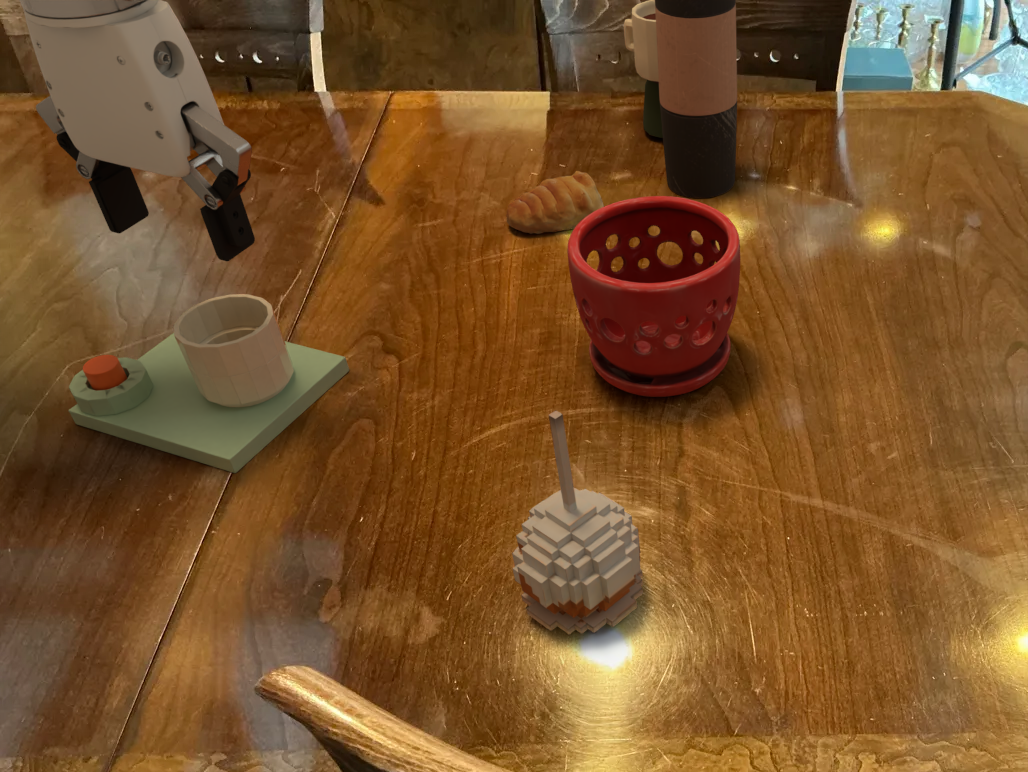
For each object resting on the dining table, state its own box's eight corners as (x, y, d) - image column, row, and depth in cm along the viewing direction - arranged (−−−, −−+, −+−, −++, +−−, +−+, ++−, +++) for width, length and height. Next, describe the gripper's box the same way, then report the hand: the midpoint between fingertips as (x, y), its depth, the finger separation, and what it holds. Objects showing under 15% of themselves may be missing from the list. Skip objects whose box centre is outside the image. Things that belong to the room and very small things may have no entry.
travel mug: (706, 158, 116) (700, -44, 102) (752, 183, 112) (753, -24, 97) (649, 180, 112) (635, -26, 98) (695, 207, 108) (687, -5, 94)
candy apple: (586, 535, 75) (559, 357, 64) (667, 588, 71) (653, 409, 61) (500, 599, 71) (457, 419, 60) (582, 658, 67) (550, 479, 57)
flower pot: (551, 362, 90) (531, 231, 81) (675, 305, 96) (668, 177, 87) (646, 437, 82) (635, 303, 74) (773, 370, 88) (776, 238, 80)
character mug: (729, 130, 121) (727, 7, 112) (694, 154, 117) (689, 29, 107) (649, 109, 125) (642, -10, 116) (613, 132, 121) (602, 10, 112)
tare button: (84, 388, 84) (74, 369, 83) (109, 369, 86) (100, 351, 84) (109, 395, 83) (100, 377, 82) (134, 376, 85) (125, 358, 84)
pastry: (524, 247, 103) (518, 209, 101) (496, 218, 107) (490, 182, 105) (611, 220, 107) (607, 184, 104) (581, 194, 111) (577, 158, 108)
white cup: (182, 399, 85) (152, 335, 80) (243, 349, 89) (218, 286, 85) (255, 420, 83) (228, 355, 78) (314, 368, 87) (292, 304, 83)
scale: (68, 422, 85) (51, 391, 83) (193, 329, 94) (180, 299, 92) (235, 473, 80) (221, 442, 78) (350, 370, 89) (340, 340, 87)
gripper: (240, -20, 65) (315, 237, 77) (27, -55, 70) (129, 192, 82) (149, 22, 60) (244, 289, 72) (-74, -19, 65) (51, 238, 77)
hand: (183, 237), depth 77 cm, fingers open, 9 cm apart
